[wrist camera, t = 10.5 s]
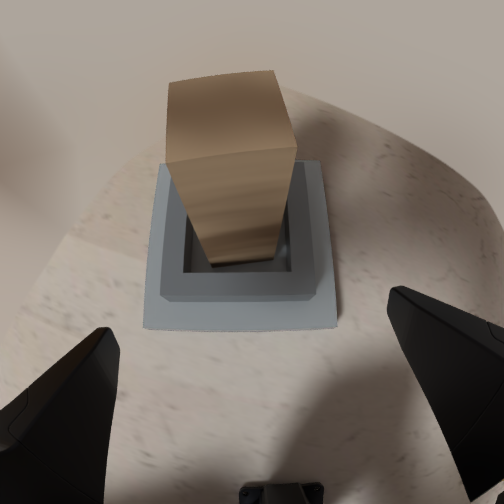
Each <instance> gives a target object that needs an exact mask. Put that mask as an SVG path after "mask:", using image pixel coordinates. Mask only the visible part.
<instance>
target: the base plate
mask: <svg viewBox="0 0 504 504" xmlns="http://www.w3.org/2000/svg"><path fill="white" fill-rule="evenodd" d="M335 327H337V309H336V294H335V281H334V270H333V259H332V249H331V239H330V230H329V222H328V214H327V206H326V198H325V191H324V184H323V177H322V171H321V164H320V161H316V160H295V162H294V167H293V172H292V177H291V181H290V186H289V191H288V196H287V200H286V205H285V210H284V214H283V219H282V224H281V228H280V233H279V237H278V242H277V246H276V251H275V255H274V260H270V261H263V262H255V263H248V264H241V265H233V266H226V267H218V268H212V267H211V265H210V263H209V260H208V258H207V256H206V254H205V252H204V250H203V247H202V245H201V243H200V241H199V239H198V236H197V234H196V232H195V230H194V228H193V225H192V223H191V221H190V219H189V216H188V214H187V212H186V210H185V207H184V205H183V203H182V201H181V198H180V196H179V194H178V191H177V189H176V187H175V184H174V182H173V180H172V177H171V175H170V173H169V170H168V168H167V166H166V163H165V164H160V166H159V172H158V178H157V185H156V191H155V198H154V205H153V213H152V221H151V229H150V238H149V247H148V257H147V269H146V281H145V296H144V316H143V328H145V329H149V330H168V331H202V332H260V331H294V330H315V329H332V328H335Z"/></svg>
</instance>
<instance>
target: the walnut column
mask: <svg viewBox="0 0 504 504" xmlns="http://www.w3.org/2000/svg"><path fill="white" fill-rule="evenodd" d="M297 147H298V146H297V143H296V139H295V136H294V133H293V129H292V126H291V123H290V120H289V116H288V113H287V110H286V107H285V104H284V101H283V97H282V94H281V91H280V88H279V85H278V83H277V80H276V76H275V74H274V71H273V70H272V71H271V70H269V71H255V72H242V73H232V74H223V75H215V76H208V77H201V78H194V79H188V80H182V81H177V82H172V83H169V90H168V108H167V127H166V166H167V168H168V170H169V173H170V175H171V177H172V180H173V182H174V184H175V187H176V189H177V191H178V194H179V196H180V198H181V201H182V203H183V205H184V207H185V210H186V212H187V214H188V216H189V219H190V221H191V223H192V225H193V228H194V230H195V232H196V234H197V236H198V239H199V241H200V243H201V245H202V247H203V250H204V252H205V254H206V256H207V258H208V260H209V263H210V265H211V267H212V268H218V267H226V266H233V265H241V264H248V263H255V262H263V261H270V260H274V255H275V251H276V246H277V242H278V237H279V233H280V228H281V224H282V219H283V214H284V210H285V205H286V200H287V196H288V191H289V186H290V181H291V177H292V172H293V167H294V162H295V157H296V152H297Z"/></svg>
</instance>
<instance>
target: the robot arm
mask: <svg viewBox="0 0 504 504" xmlns="http://www.w3.org/2000/svg"><path fill="white" fill-rule="evenodd" d="M387 314H388V317H389V319H390V322H391V324H392V327H393V329H394V331H395V334H396V336H397V339H398V341H399V344H400V346H401V348H402V351H403V353H404V355H405V357H406V359H407V360H408V362H409V364H410V366H411V368H412V370H413V372H414V374H415V376H416V378H417V380H418V382H419V384H420V386H421V388H422V390H423V392H424V394H425V396H426V398H427V400H428V402H429V404H430V406H431V409H432V411H433V413H434V415H435V417H436V419H437V421H438V424H439V426H440V428H441V430H442V433H443V435H444V437H445V439H446V442H447V444H448V446H449V449H450V451H451V454H452V456H453V459H454V461H455V464H456V466H457V469H458V471H459V474H460V477H461V479H462V482H463V484H464V487H465V490H466V493H467V495H468V498H469V500H470V502H472V501H474V500H475V499H477V498H478V497H480V496H481V495H483V494H484V493H486V492H487V491H489V490H490V489H491V488H493V487H494V486H495V485H497V484H498V483H499V482H501V481H502V480H503V479H504V328H502V327H500V326H497V325H495V324H493V323H491V322H486V320H484V319H481V318H479V317H477V316H474V315H472V314H470V313H467V312H465V311H463V310H460V309H458V308H456V307H453V306H451V305H448V304H446V303H444V302H441V301H439V300H436V299H434V298H432V297H429V296H427V295H424V294H422V293H420V292H417V291H415V290H412V289H410V288H407V287H405V286H397V287H393V288H391V290H390V293H389V299H388V304H387ZM119 359H120V348H119V345H118V343H117V341H116V338H115V336H114V334H113V332H112V330H111V329H110V328H109V327H99V328H97V329H96V330H94V331H93V332H92V333H91V334H90V335H88V336H87V337H86V338H85V339H84V340H82V341H81V342H80V343H79V344H78V345H76V346H75V347H74V348H73V349H72V350H70V351H69V352H68V353H67V354H66V355H64V356H63V357H62V358H61V359H60V360H59V361H57V362H56V363H55V364H54V365H53V366H52V367H50V368H49V369H48V370H47V371H46V372H45V373H43V374H42V375H41V376H40V377H39V378H38V379H37V380H35V381H34V382H33V383H32V384H31V385H30V386H29V387H28V388H26V389H25V390H24V391H23V392H22V393H21V394H20V395H18V396H17V397H16V398H15V399H14V400H13V401H11V402H10V403H9V404H8V405H6V406H5V407H4V408H3V409H1V410H0V504H103V503H104V488H105V476H106V466H107V456H108V448H109V440H110V433H111V426H112V419H113V413H114V407H115V401H116V394H117V385H118V371H119ZM316 487H320V488H319V489H318V490H314V489H315V488H316ZM244 491H247V492H249V493H248V494H244V493H243V492H244ZM323 494H324V487H323V485H322V484H321V483H308V484H299V483H289V484H273V485H266V486H264V487H243V488H241V489H240V491H239V504H323ZM495 504H504V491H503V492H502V493H500V494H499V495H498V497H497V500H496V503H495Z"/></svg>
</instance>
